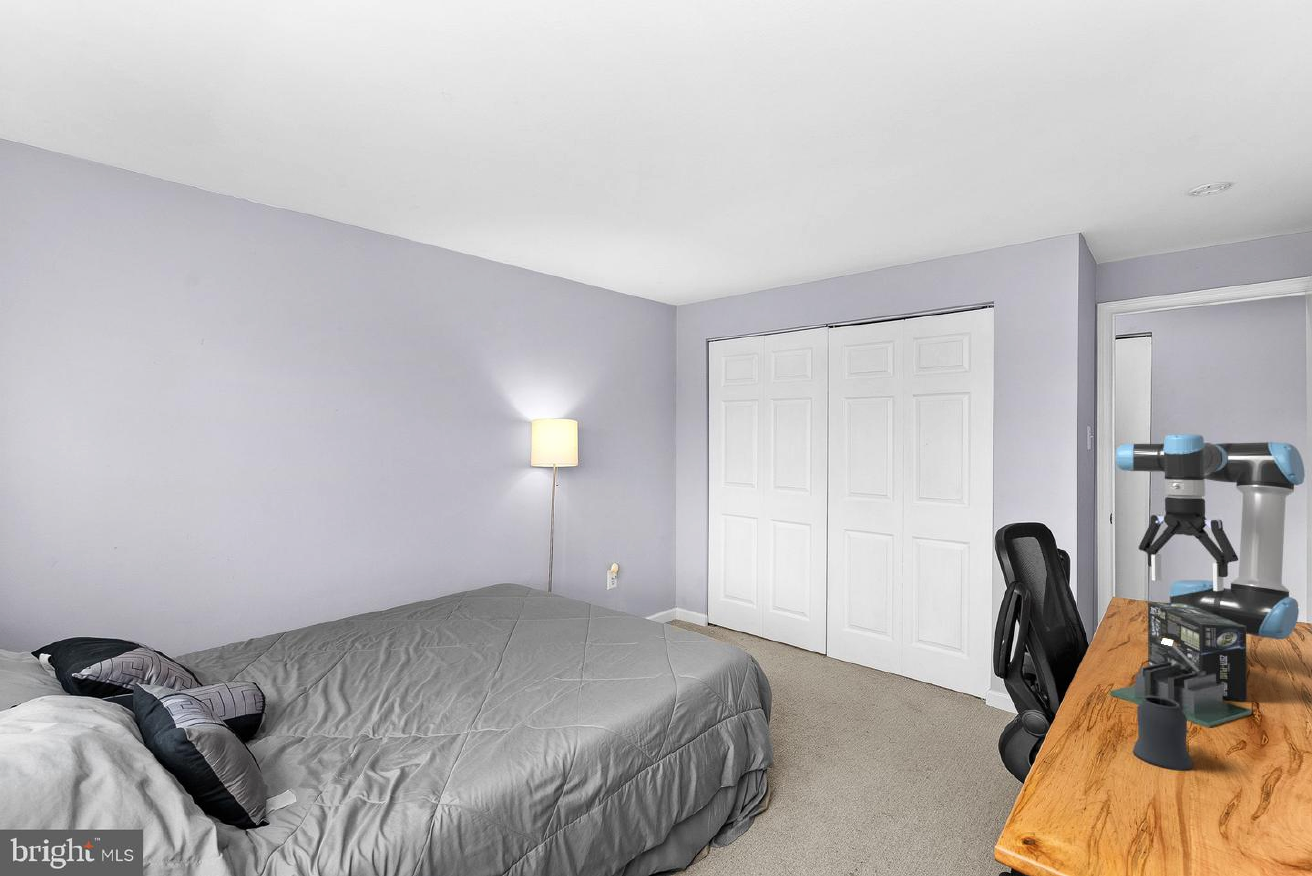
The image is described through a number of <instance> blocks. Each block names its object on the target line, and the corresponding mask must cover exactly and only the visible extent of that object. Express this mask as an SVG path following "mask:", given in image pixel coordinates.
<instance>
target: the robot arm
mask: <svg viewBox="0 0 1312 876" xmlns="http://www.w3.org/2000/svg"><path fill="white" fill-rule="evenodd" d="M1114 457H1115V463H1116V466H1117V468H1118V469H1120V470H1121V471H1124V472H1125V471H1126V472H1127V471H1129V472H1147V473H1148V472H1151V473H1152V472H1155V473H1156V472H1157V473H1164V495H1166V496H1167V497H1165V498H1164V511H1165V515H1163V516H1162V515H1160V514H1152V515H1150V520H1149V521H1150V523H1149V525H1148V527H1147V530H1146V531H1145V533H1144V536H1143V537H1142V539H1141V542H1140V543H1139V546H1138V550H1139V551H1142V552H1145V553H1146V554H1147V565H1148V566H1147V567H1151V581H1153V582H1157V581H1162V554H1161V553H1160V554H1159V551H1160V550H1161V549H1162V548H1163V547H1164V546H1165V545H1166V544H1167V543H1168V541H1170V540H1171V539H1172V538H1173V536H1175V535H1180V536H1181V535H1185V536H1190V537H1191V536H1192V537H1194V538H1195V539H1197V540H1198V541H1199V542H1200V544H1201V545H1202V546H1203V547H1204V548H1205V550H1207V552H1208V553H1209V554H1210V556H1212V557H1213V558H1214V560H1215V561H1216V562H1212V580H1209V579H1208V580H1206V579H1205V580H1201V579H1196V580H1195V579H1191V580H1190V579H1188V580H1186V579H1185V580H1184V579H1183V580H1176V581H1173V582H1172V583H1171V584H1170V589H1169V603H1184V604H1189V605H1192V606H1194V607H1197V608H1199V609H1202V610H1205V611H1207V612H1210V613H1213V614H1215V615H1218V616H1221V617H1223V618H1226V619H1229V620H1231V621H1234V622H1236V623H1239V624H1241V625H1244V626H1246V635H1251V636H1256V637H1260V638H1268V639H1275V640H1285V639H1287V638H1288V637H1290V635H1291V634H1292V633H1293V632H1294V630H1295V628H1296V625H1297V622H1298V618H1299V614H1300V613H1299V612H1300V610H1299V609H1300V608H1299V603H1298V601H1297V600H1296V599H1295V598H1293V597H1291V596H1290V590H1289V589H1288V588H1287V587H1285V585H1283V581H1282V580H1283V579H1282V578H1283V564H1284V563H1283V559H1284V558H1283V557H1284V539H1285V538H1284V537H1285V519H1286V518H1285V517H1286V514H1285V513H1286V501H1287V499H1286V498H1287V497H1288V496H1289V495H1291V494H1292V493H1294V490H1295V486H1299V485H1302V484H1303V483H1304V481H1305V480H1304V479H1305V475H1306V473H1305V466H1304V462H1303V459H1302V456H1301V453H1300V452H1299V450H1298V448H1297V447H1296V446H1294V445H1293V444H1291V443H1287V442H1272V441H1269V442H1268V441H1267V442H1231V443H1230V442H1222V443H1211V442H1205V439H1204V436H1203V435H1202V434H1197V433H1196V434H1189V433H1188V434H1186V433H1185V434H1167V435H1166V436H1165V438H1164V441H1163V443H1125V444H1120V445H1119V446H1118V447H1117V448H1116V450H1115V456H1114ZM1205 480H1206V481H1207V480H1209V481H1213V482H1221V483H1236V485H1235V486H1236V487H1235V488H1236V489H1237V490H1238V491H1240V493H1242V506H1241V507H1242V509H1241V510H1242V512H1241V513H1242V514H1241V529H1240V544H1239V545H1240V546H1239V557H1238V555H1237V553H1236V551H1235V549H1234V548H1233V546H1232V544H1231V542H1230V540H1229V538H1228V536H1227V534H1226V532H1225V530H1224V528H1223V527H1224V525H1223V521H1222V519H1207V518H1206V500H1205V499H1204V498H1203V497H1204V496H1206V486H1205V484H1206V483H1205ZM1163 523H1165V524H1166V525H1167V527H1166V528H1165V529H1164V530H1163V532H1162V533H1161V534H1160V535H1159V537H1157V539H1155V538H1156V536H1157V534H1158V532H1159V530H1160V528H1161V526H1162V525H1163ZM1206 526H1207V527H1208V528H1209V529H1210V530H1211V532H1212V535H1213V538H1214V539H1215V540H1216V543H1217V544H1218V545H1217V544H1216V543H1215V542H1214V541H1213V540H1212V538H1211V537H1210V536H1209V534H1208V532H1207V531H1206V530H1205V529H1204V528H1205V527H1206ZM1154 540H1155V541H1154ZM1238 560H1239V565H1238V566H1239V567H1238V577H1237V578H1236V579H1234V580H1232V581H1231V582H1230V588H1225V587H1224V578H1227V577H1228V575H1229V568H1228V567H1229V566H1228V565H1229V563H1232V562H1238Z"/></svg>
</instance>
